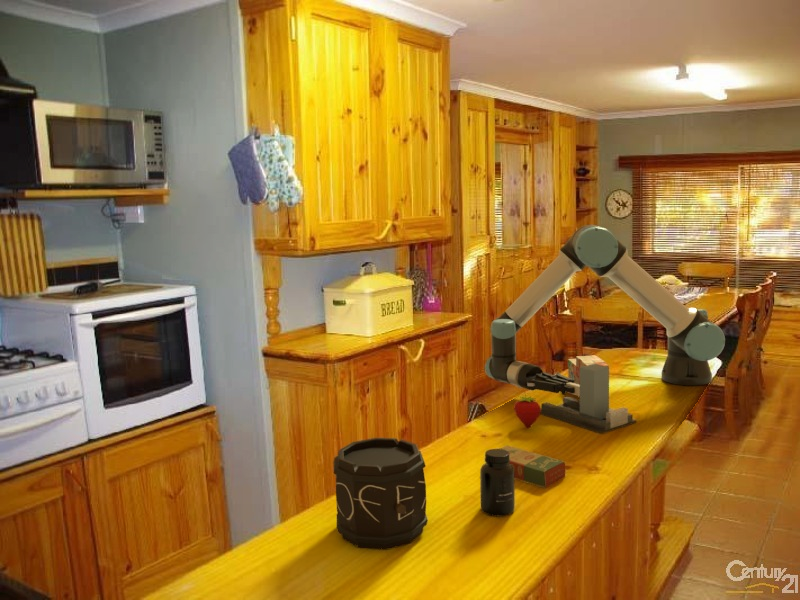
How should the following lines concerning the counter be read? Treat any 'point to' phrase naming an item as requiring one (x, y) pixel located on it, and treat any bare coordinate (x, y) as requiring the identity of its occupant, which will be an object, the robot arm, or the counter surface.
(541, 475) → the carton
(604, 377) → the grey rectangular block
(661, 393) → the counter surface
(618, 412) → the chute
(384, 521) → the wooden barrel
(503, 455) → the supplement bottle
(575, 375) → the stack of blocks
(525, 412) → the strawberry
